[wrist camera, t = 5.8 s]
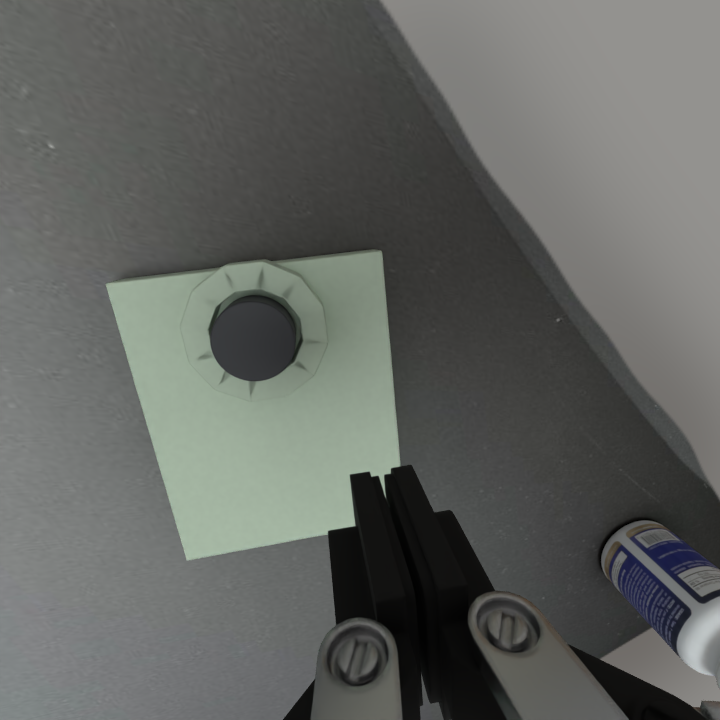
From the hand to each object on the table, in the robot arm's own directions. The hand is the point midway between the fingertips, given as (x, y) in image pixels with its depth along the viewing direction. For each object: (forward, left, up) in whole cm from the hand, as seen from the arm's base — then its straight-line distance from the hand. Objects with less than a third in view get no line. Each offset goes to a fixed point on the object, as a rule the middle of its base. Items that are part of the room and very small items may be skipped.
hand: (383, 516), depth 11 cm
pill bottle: (-20, +18, -14) cm, 30 cm away
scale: (+4, +2, -13) cm, 14 cm away
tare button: (+4, -3, -10) cm, 11 cm away
